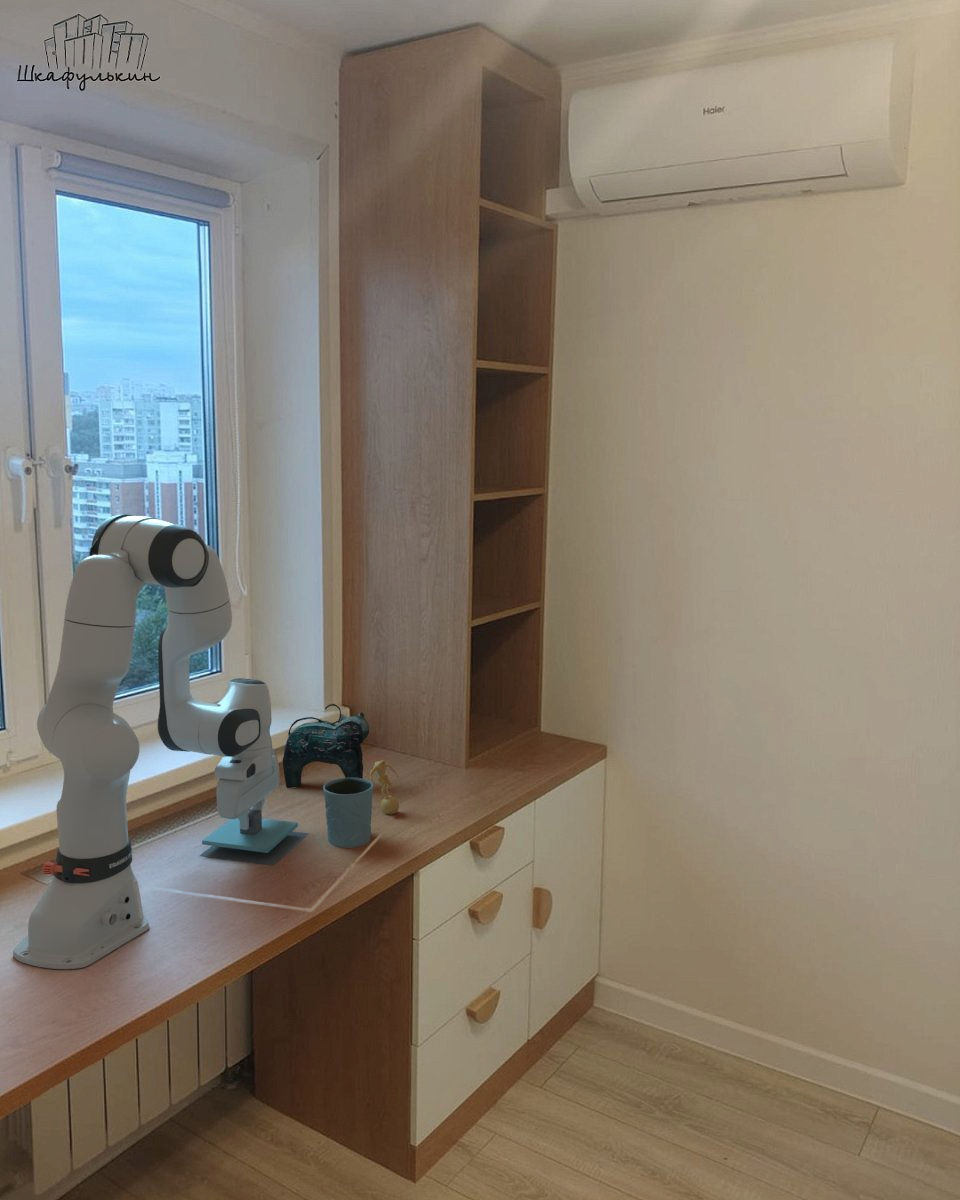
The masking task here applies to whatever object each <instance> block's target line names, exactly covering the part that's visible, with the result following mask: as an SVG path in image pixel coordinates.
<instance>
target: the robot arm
mask: <svg viewBox="0 0 960 1200" xmlns="http://www.w3.org/2000/svg"><path fill="white" fill-rule="evenodd" d="M145 584H149V585H155V586H162V587H163V588H164V594H165V595H164V596H165V602H166V608H167V616H168V617H167V618H168V619H167V625H166V626H165V627H164V628H163V629H162V630H161V633H160V635H159V638H158V639H159V640H158V648H157V649H158V650H157V655H158V656H157V659H158V660H157V661H158V688H159V711H158V717H157V733H158V735H159V738H160V740H161V742H162V743H163V745H164V746H165V747H166V748H167V749H168V750H170V751H173V752H187V753H188V752H191V753H192V752H193V753H199V754H202V755H209V756H210V755H213V756H218V757H222V758H221V759H220V761H219V762H218V764H217V765H216V767H215V768H214V776H215V778H216V779H218V780H217V784H216V790H215V791H216V809H217V813H218V815H219V816H220V818H222V819H225V820H226V819H227V820H230V819H237V818H238V819H239V821H240V829H243V830H247V829H249V828H250V827H251V819H249V817H248V813H249V809H254V810H262V811H263V808H264V805H265V800H266V799H265V797H267V796H268V795H269V794H271V793H272V792H273V791H275V790H277V789H278V788H279V785H280V780H281V778H280V766H279V760H278V757H277V756H276V755H275V749H274V748H273V739H272V736H271V731H270V730H271V726H272V721H273V720H272V703H271V694H270V689H269V687H268V685H267V683H265V682H264V681H262V680H260V679H252V678H244V677H240V678H233V679H230V680H229V681H228V683H227V689H226V693H225V695H224V696H223V698H222V699H221V700H220V701H218V702H217V703H214V702H213V703H211V702H205V701H199V700H197V698H194V697H193V695H192V694H191V687H190V685H191V683H190V659H191V656H192V655H196V654H199V653H202V652H204V651H207V650H208V649H210V648H211V649H212V647H214V646H216V645H218V644H219V643H220V642H222V641H223V640H224V639H225V638H226V636H227V635H228V633H229V632H230V631H231V627H232V622H233V612H232V611H233V609H232V605H231V599H230V594H229V587H228V585H227V580H226V577H225V573H224V569H223V567H222V564H221V560H220V559H219V556H218V554H217V552H216V550H215V549H214V548H213V547H212V546H210V545H209V544H206V543H205V541H204V540H203V538H202V536H200V534H198V533H197V532H196V531H194V530H193V529H191V528H190V527H188V526H185V525H182V524H177V523H175V524H174V523H172V522H169V521H166V520H162V519H159V518H156V517H151V516H141V515H137V516H136V515H133V514H117V515H114V516H110V517H108V518H106V519H104V520H103V522H101V523H100V524H99V526H98V527H97V529H96V530H95V532H94V535H93V538H92V542H91V547H90V549H89V555H88V556H87V557H85V558H83V559H82V560H81V561H80V562H78V564H77V566H76V567H75V571H74V574H73V577H72V579H71V583H70V587H69V590H68V595H67V599H66V605H65V610H64V611H65V612H64V619H63V628H62V635H61V636H62V637H61V642H60V643H61V644H60V652H59V660H58V666H57V670H56V673H55V677H54V681H53V683H52V686H51V689H50V692H49V694H48V695H49V696H48V698H47V702H46V703H45V704H44V705H43V707H42V708H41V710H40V711H39V714H38V716H37V720H36V729H37V731H38V735H39V738H40V740H41V742H42V744H43V746H44V748H46V750H47V751H48V752H49V753H51V754H52V755H53V756H55V757H56V758H57V759H59V760H60V763H61V766H62V769H63V783H62V789H61V796H60V799H59V800H57V804H56V809H55V810H56V821H57V823H56V824H57V832H58V833H57V834H58V835H57V836H58V848H57V850H56V856H55V859H54V862H52V861H49V860H48V861H45V862H44V863H43V866H42V869H41V871H42V873H43V874H44V875H52V876H53V877H52V879H51V881H50V882H49V884H48V886H47V887H46V889H45V890H44V892H43V894H42V896H41V897H40V898H39V900H38V902H37V903H36V906H35V907H34V908H33V910H32V911H31V913H30V916H29V918H28V925H27V935H26V937H24V938H23V939H22V940H21V942H19V943H18V944H17V945H16V947H15V948H14V949H13V951H12V956H13V958H14V959H15V960H17V961H18V962H21V963H23V964H26V965H30V966H34V967H39V968H43V969H44V968H45V969H54V970H75V969H81V968H86V967H87V966H90V965H91V964H93V963H95V962H96V961H98V960H100V959H102V958H103V957H105V956H107V955H108V954H109V953H111V952H113V951H115V950H116V949H118V948H120V947H121V946H123V945H125V944H126V943H128V942H130V941H131V940H133V939H135V938H136V937H138V936H140V935H141V934H143V933H144V932H146V931H148V930H149V929H150V924H149V921H148V919H146V917H145V916H144V912H143V911H144V910H143V904H142V899H141V893H140V892H141V891H140V888H139V882H138V879H137V878H136V876H135V874H134V871H133V868H132V865H131V864H132V862H133V847H132V841H131V839H130V837H129V831H128V830H129V828H128V815H127V814H128V813H127V812H128V811H127V810H128V809H127V795H128V787H129V781H130V777H131V776H130V775H131V770H132V769H133V768H134V766H135V765H136V763H137V761H138V759H139V756H140V742H139V738H138V737H137V735H136V733H135V731H134V730H133V728H132V727H131V725H130V724H129V722H128V721H126V719H125V718H123V717H122V716H120V715H118V714H116V713H115V712H114V710H113V709H114V700H115V698H116V696H117V695H116V694H117V693H118V689H119V687H120V684H121V682H122V681H123V679H124V678H125V677H126V676H127V674H128V673H129V671H130V668H131V659H132V652H133V651H132V650H133V644H134V642H133V641H134V637H135V636H134V635H135V625H136V616H137V615H136V614H137V599H138V597H139V593H140V592H141V590H142V588H143V586H144V585H145Z"/></svg>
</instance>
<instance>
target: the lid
mask: <svg viewBox="0 0 960 1200" xmlns="http://www.w3.org/2000/svg"><path fill="white" fill-rule="evenodd" d="M262 811H263V809H262V810H254V809H252V808H250V809H249V813H248V817H249V819H251V827H250V828H249V829H247V830H243V829H240V821H239V819H238V818H237V819H228V820H227V821H226V822H225V823H224V824H222V825H221V826H219V827H218V828H216V829H215V830H214V831H213V832H212V833H209V835H207V836H206V837H205V838H203V839H202V840H201V844H202V845H204V846H210V847H211V846H219V847H226V848H234V849H242V850H249V851H257V852H265V853H268V852H269V851H270V850H272V849H273V848H274V847H275V846H276V845H277V844H278V843H279V842H281V841H282V840H283V839H284V838H285V837H286V836H287V835H289V834H290V833H291V832H292V831H293V832H294V831H295V830H296V829H297V828H298V826H299V823H298V822H295V821H288V820H279V819H271V818H264V817H262V815H263V814H262V813H263V812H262Z"/></svg>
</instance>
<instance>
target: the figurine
mask: <svg viewBox="0 0 960 1200" xmlns="http://www.w3.org/2000/svg"><path fill="white" fill-rule="evenodd" d="M386 767H387V768H389V769H390V770H391V771H392V772H393V773H394V774H395V775H396V778H399V776H398V773H397V772H396V771H395V769H394V768H393V767H392V766H391V765H390V764H389V763H386V761H385V759H382V760H377V761H375V762H374V764H373V768H372V769H371V770H370V772H369V781H371V782H372V783H373V788H374V787H375V784H374V782H373V773H375V772H376V773H377V775H378V778H377V782H379V784H380V786H381V787H382V788H381V794H382V795H383V799H382V800H381V801H380V810H381V812H382V813H383V814H385V815H386V816H387V815H388V816H391V815H395V814H396V813H397V812H398V810H399V807H400V803H399V801H398V799H397V798H396V797H394V795H393V794H392V793H391V792H390V791H389V790H390V789H391V787H392V785H393V782H391V780H390V778H389V776H388V774H386V770H387V768H386ZM385 790H386V792H387V794H386V793H385ZM387 795H388V796H387Z"/></svg>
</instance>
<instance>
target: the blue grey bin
mask: <svg viewBox="0 0 960 1200" xmlns="http://www.w3.org/2000/svg"><path fill="white" fill-rule="evenodd" d="M373 783H374V782H373V781H372V782H371V781H370V779H366V778H363V779H362V778H345V777H343V778H342V777H341V778H336V779H333V780H330V781H327V782H326V783H324V784H323V787H322V789H323V790H322V791H323V796H324V798H323V799H324V802H325V805H324V806H325V818H326V826H327V827H326V830H327V840H328V841H327V842H328V844H330V845H332V846H334V847H337V848H348V849H351V848H358V847H361V846H364V845H366V844H368V843H369V842H370V841H371V839H372V838H371V837H372V813H373V812H372V809H373V796H374V787H373V786H374V784H373Z"/></svg>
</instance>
